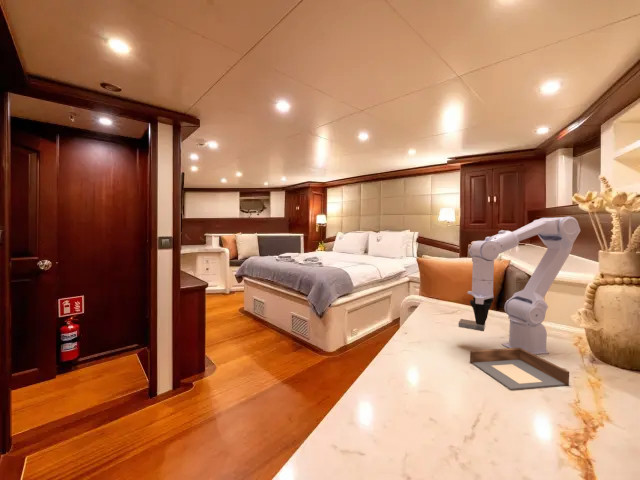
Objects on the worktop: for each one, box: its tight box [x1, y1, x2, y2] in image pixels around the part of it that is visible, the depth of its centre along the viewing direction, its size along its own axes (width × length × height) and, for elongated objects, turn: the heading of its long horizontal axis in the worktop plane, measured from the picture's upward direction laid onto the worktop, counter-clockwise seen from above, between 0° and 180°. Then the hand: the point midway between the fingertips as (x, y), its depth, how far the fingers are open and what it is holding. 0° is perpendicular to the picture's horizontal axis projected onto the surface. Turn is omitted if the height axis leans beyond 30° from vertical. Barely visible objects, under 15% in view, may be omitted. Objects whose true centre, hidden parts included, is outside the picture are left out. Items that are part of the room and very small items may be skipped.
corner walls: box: [469, 347, 570, 386], centre depth 73 cm, size 16×14×3 cm
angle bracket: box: [458, 318, 486, 332], centre depth 88 cm, size 7×4×6 cm, turn 54°
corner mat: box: [469, 359, 570, 391], centre depth 73 cm, size 16×14×1 cm
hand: (481, 322), depth 87 cm, fingers closed on angle bracket, 4 cm apart
